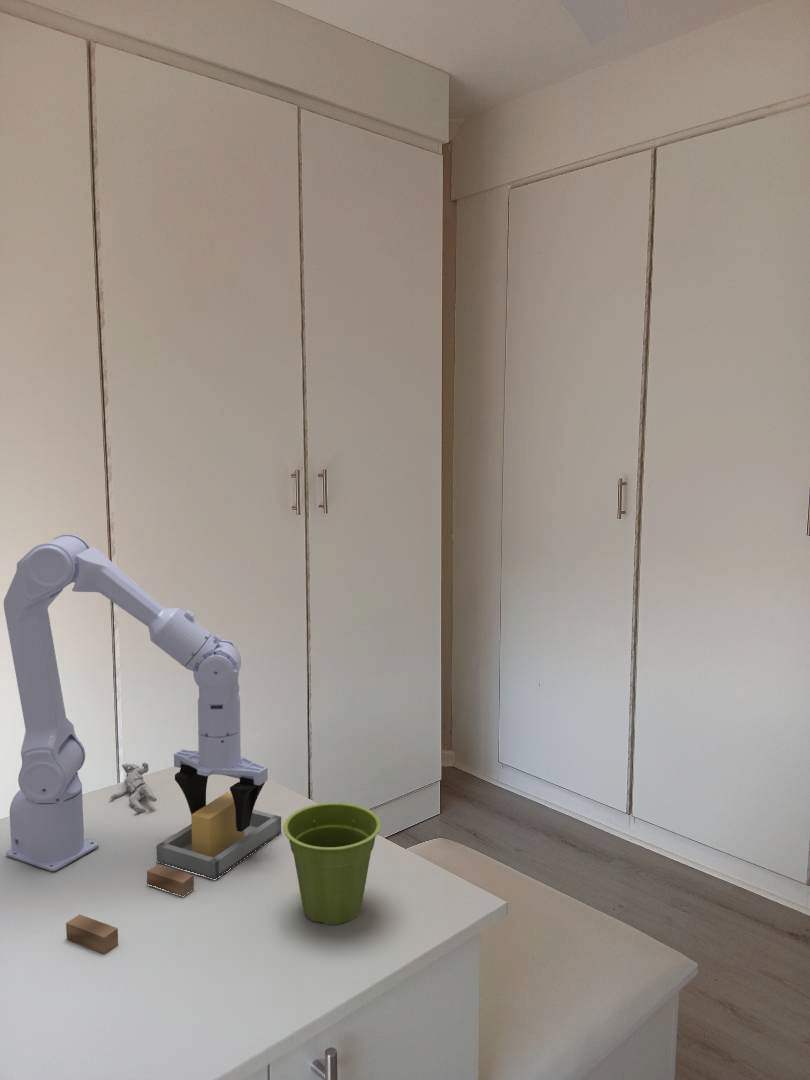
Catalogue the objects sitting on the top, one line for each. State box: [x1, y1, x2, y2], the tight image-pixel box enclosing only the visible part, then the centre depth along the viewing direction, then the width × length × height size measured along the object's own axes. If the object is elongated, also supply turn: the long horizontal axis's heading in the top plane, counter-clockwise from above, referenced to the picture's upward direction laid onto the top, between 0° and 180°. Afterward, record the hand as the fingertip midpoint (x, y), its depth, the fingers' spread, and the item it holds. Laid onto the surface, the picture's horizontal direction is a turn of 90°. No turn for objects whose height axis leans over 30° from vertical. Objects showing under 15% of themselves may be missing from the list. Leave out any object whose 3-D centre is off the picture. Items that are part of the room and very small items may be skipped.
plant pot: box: [282, 802, 382, 925], centre depth 104 cm, size 12×12×11 cm
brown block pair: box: [65, 863, 195, 955], centre depth 103 cm, size 6×15×2 cm, turn 153°
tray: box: [155, 808, 282, 879], centre depth 120 cm, size 10×15×2 cm, turn 153°
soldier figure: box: [108, 761, 158, 814], centre depth 135 cm, size 8×5×12 cm
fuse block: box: [190, 791, 245, 858], centre depth 119 cm, size 3×8×6 cm, turn 156°
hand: (220, 822), depth 119 cm, fingers open, 7 cm apart
